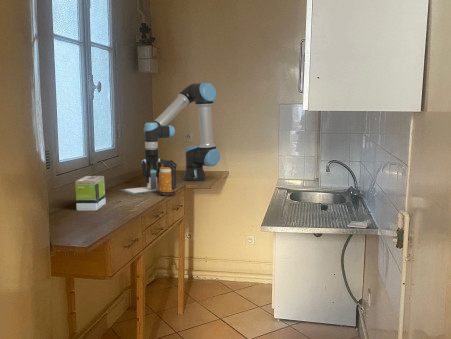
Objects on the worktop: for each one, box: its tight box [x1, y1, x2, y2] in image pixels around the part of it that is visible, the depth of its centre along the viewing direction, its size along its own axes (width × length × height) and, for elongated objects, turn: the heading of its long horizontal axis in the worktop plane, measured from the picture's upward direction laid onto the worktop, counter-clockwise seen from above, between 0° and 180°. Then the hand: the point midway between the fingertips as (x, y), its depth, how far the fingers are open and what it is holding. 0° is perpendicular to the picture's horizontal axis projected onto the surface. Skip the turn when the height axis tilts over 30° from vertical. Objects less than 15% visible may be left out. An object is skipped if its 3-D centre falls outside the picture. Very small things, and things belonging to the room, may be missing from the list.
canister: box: [158, 159, 178, 197], centre depth 246 cm, size 9×11×20 cm
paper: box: [119, 186, 159, 195], centre depth 261 cm, size 20×16×1 cm
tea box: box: [74, 175, 107, 212], centre depth 216 cm, size 15×10×15 cm, turn 178°
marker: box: [149, 169, 156, 189], centre depth 261 cm, size 4×4×11 cm
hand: (152, 187), depth 262 cm, fingers closed on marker, 4 cm apart
